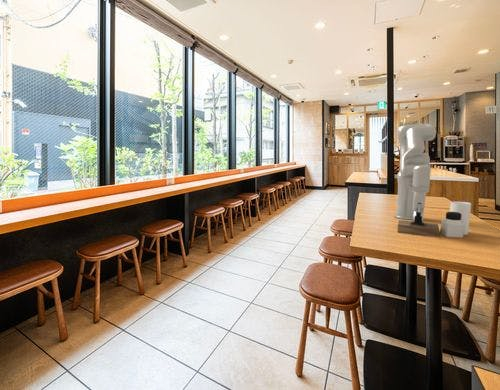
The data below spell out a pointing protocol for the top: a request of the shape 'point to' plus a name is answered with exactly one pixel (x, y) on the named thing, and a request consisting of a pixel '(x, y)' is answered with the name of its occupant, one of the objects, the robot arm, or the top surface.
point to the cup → (462, 213)
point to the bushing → (414, 217)
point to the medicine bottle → (452, 225)
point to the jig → (418, 228)
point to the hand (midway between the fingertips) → (417, 222)
